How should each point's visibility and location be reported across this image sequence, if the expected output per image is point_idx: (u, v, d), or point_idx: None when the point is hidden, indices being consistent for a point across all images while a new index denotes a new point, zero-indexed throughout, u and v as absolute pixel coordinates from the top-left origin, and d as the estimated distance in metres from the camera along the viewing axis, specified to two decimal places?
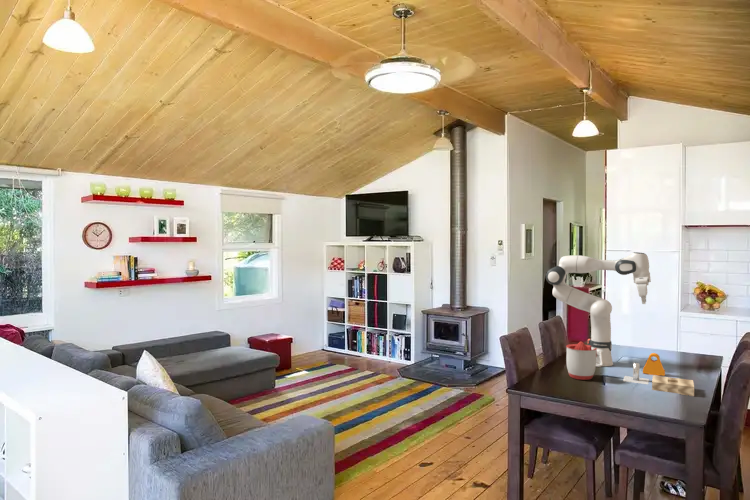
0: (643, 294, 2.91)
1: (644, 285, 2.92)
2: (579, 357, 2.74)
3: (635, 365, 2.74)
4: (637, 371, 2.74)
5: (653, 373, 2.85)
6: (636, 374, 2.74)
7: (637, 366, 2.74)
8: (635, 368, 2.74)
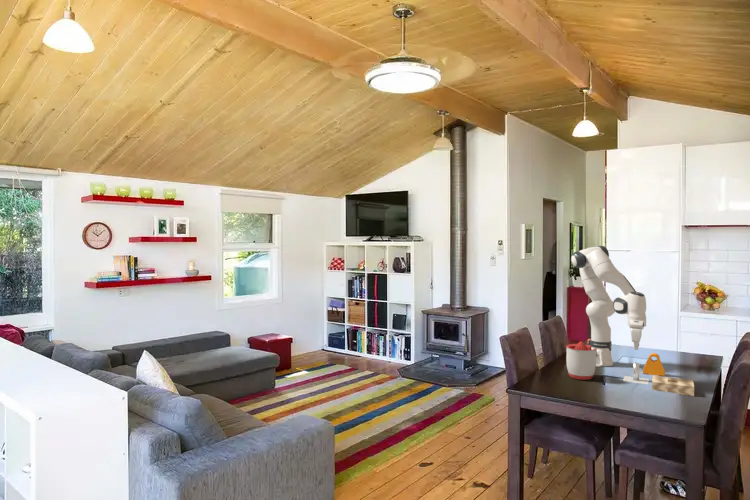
0: (636, 340, 2.66)
1: (638, 330, 2.66)
2: (579, 357, 2.74)
3: (635, 365, 2.74)
4: (637, 371, 2.74)
5: (653, 373, 2.85)
6: (636, 374, 2.74)
7: (637, 366, 2.74)
8: (635, 368, 2.74)
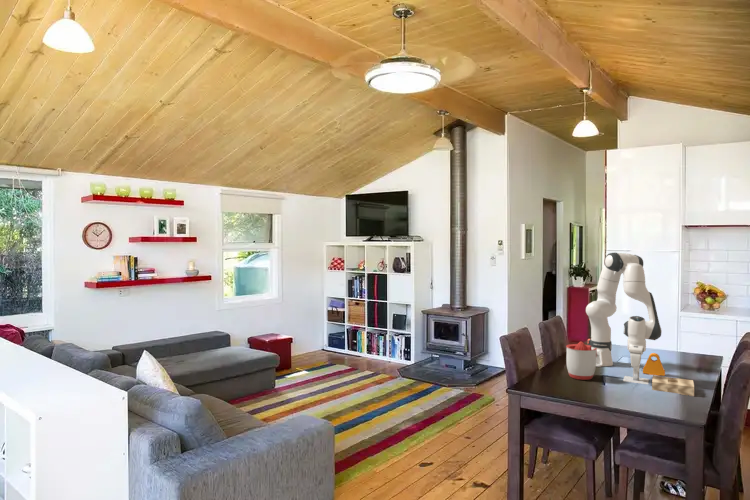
0: (636, 365, 2.66)
1: (638, 355, 2.66)
2: (579, 357, 2.74)
3: None
4: None
5: (653, 373, 2.85)
6: (636, 374, 2.74)
7: None
8: None
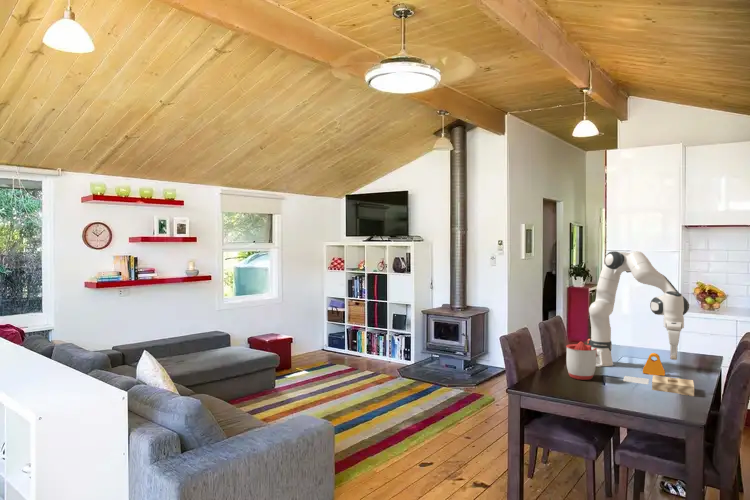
0: (675, 342, 2.49)
1: (677, 332, 2.50)
2: (579, 357, 2.74)
3: None
4: None
5: (653, 373, 2.85)
6: (674, 353, 2.57)
7: None
8: None
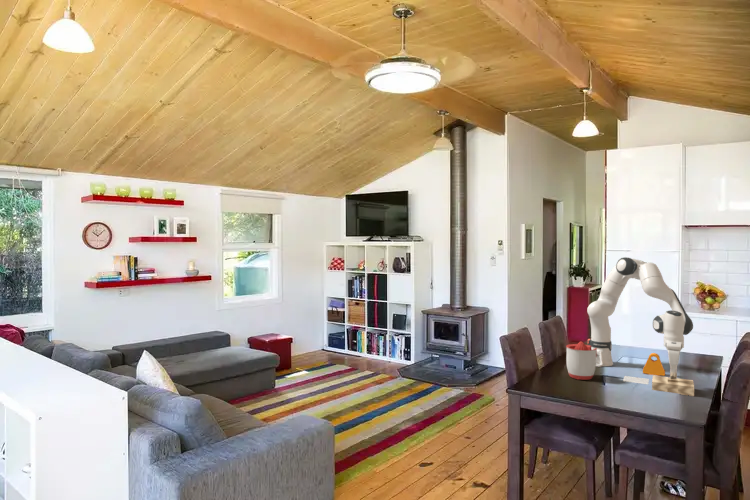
0: (674, 362, 2.50)
1: (677, 352, 2.50)
2: (579, 357, 2.74)
3: None
4: None
5: (653, 373, 2.85)
6: (673, 372, 2.57)
7: None
8: None
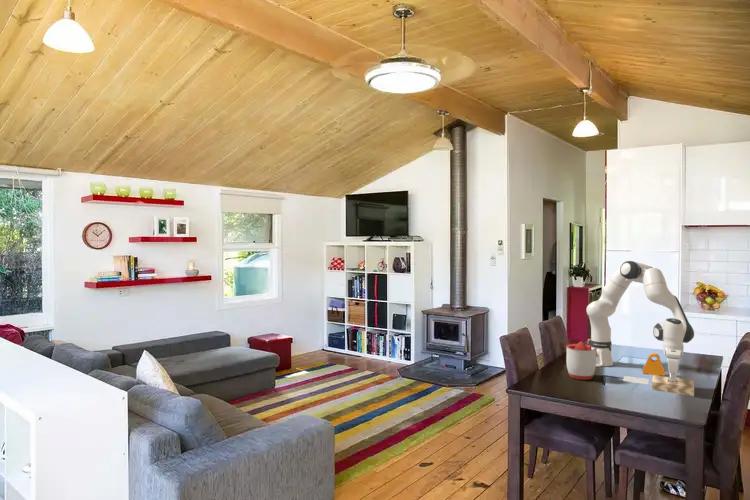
0: (674, 371, 2.50)
1: (676, 360, 2.50)
2: (579, 357, 2.74)
3: None
4: None
5: (653, 373, 2.85)
6: None
7: None
8: None
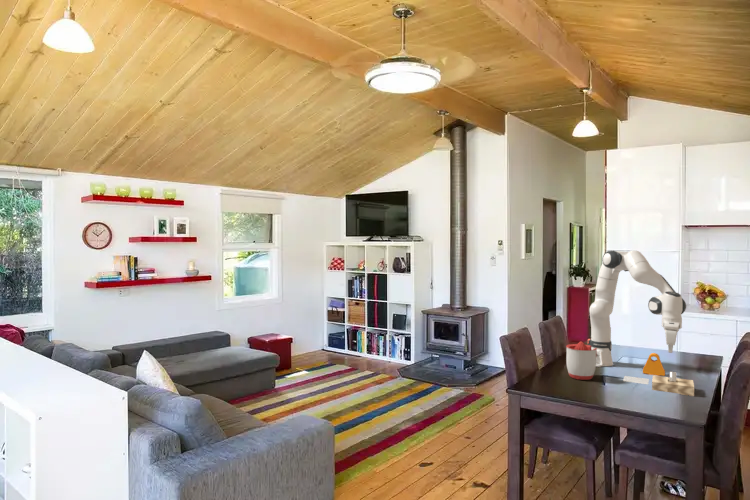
0: (671, 342, 2.51)
1: (674, 332, 2.52)
2: (579, 357, 2.74)
3: (672, 374, 2.58)
4: (674, 380, 2.57)
5: (653, 373, 2.85)
6: None
7: (674, 375, 2.57)
8: (672, 377, 2.58)
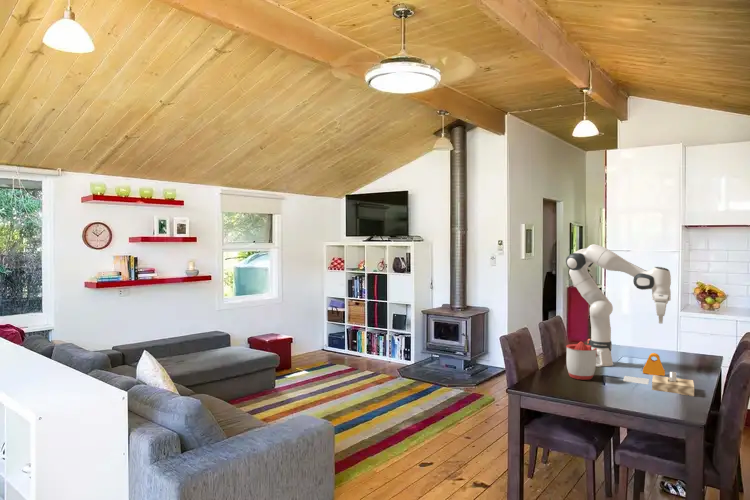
0: (661, 313, 2.69)
1: (663, 304, 2.70)
2: (579, 357, 2.74)
3: (672, 374, 2.58)
4: (674, 380, 2.57)
5: (653, 373, 2.85)
6: None
7: (674, 375, 2.57)
8: (672, 377, 2.58)
